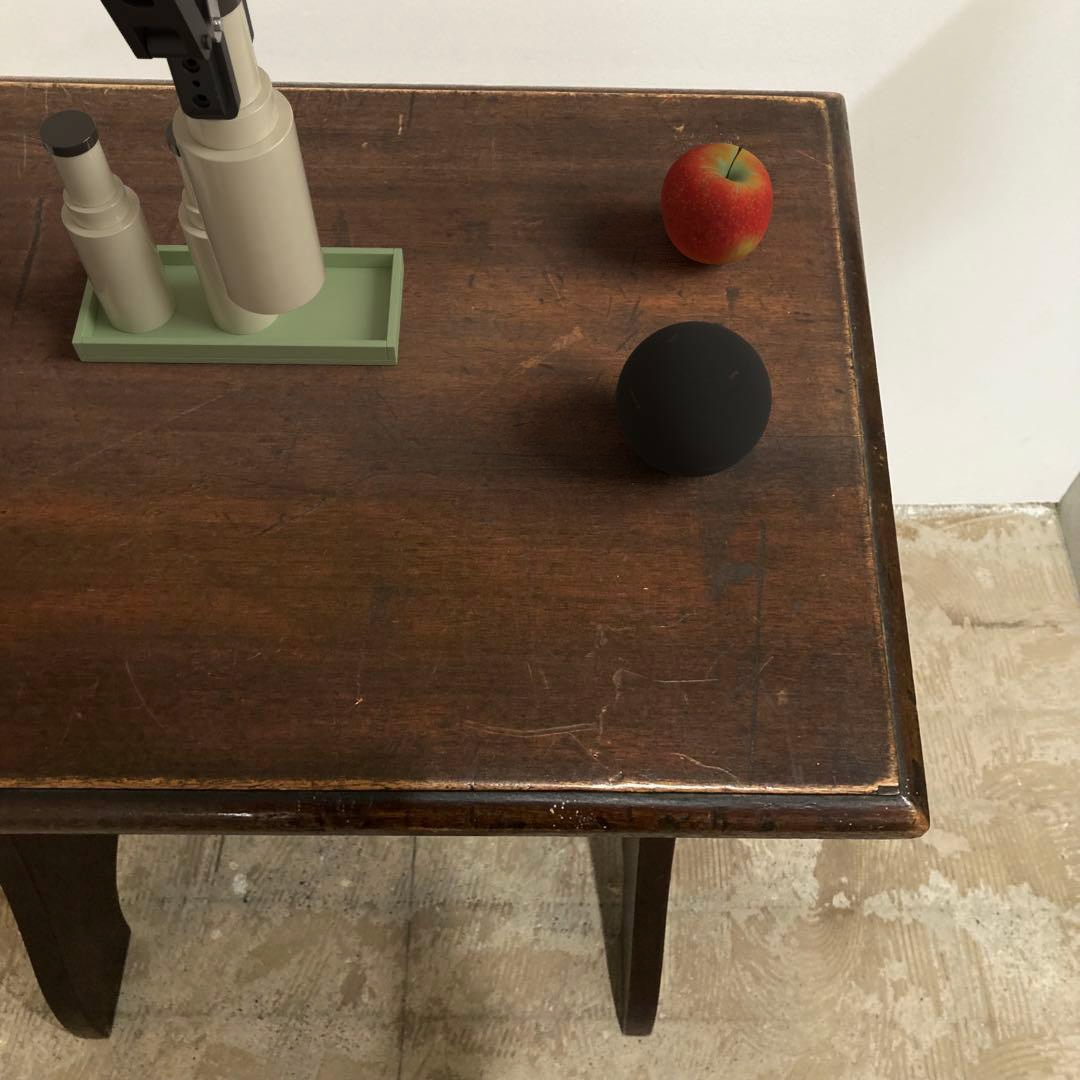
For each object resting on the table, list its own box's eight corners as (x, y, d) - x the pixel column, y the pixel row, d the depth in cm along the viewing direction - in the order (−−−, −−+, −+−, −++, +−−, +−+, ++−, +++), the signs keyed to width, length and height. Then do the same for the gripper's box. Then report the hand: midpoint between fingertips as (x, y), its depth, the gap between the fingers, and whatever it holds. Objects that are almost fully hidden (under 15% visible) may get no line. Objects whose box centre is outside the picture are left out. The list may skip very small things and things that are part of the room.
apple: (662, 202, 90) (678, 96, 81) (764, 219, 89) (792, 114, 80) (646, 278, 86) (661, 176, 77) (753, 296, 85) (781, 195, 77)
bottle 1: (99, 333, 81) (15, 156, 67) (112, 279, 84) (33, 98, 70) (170, 334, 81) (101, 158, 68) (181, 280, 84) (116, 100, 70)
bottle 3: (206, 334, 82) (144, 158, 68) (215, 281, 84) (157, 101, 70) (276, 335, 82) (229, 160, 68) (284, 282, 84) (239, 102, 70)
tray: (81, 362, 81) (71, 342, 79) (105, 263, 85) (96, 243, 84) (397, 365, 81) (394, 346, 80) (404, 267, 86) (401, 247, 84)
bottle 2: (215, 314, 55) (113, 18, 41) (230, 237, 57) (139, -67, 44) (320, 316, 55) (253, 21, 41) (330, 239, 58) (271, -64, 44)
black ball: (583, 462, 78) (592, 370, 69) (654, 363, 82) (671, 265, 73) (714, 530, 75) (740, 444, 67) (780, 425, 80) (813, 331, 71)
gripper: (4, -556, 35) (159, -31, 50) (-137, -322, 28) (92, 206, 43) (251, -550, 35) (332, -27, 50) (173, -314, 28) (293, 210, 43)
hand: (220, 79), depth 46 cm, fingers closed on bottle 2, 3 cm apart
